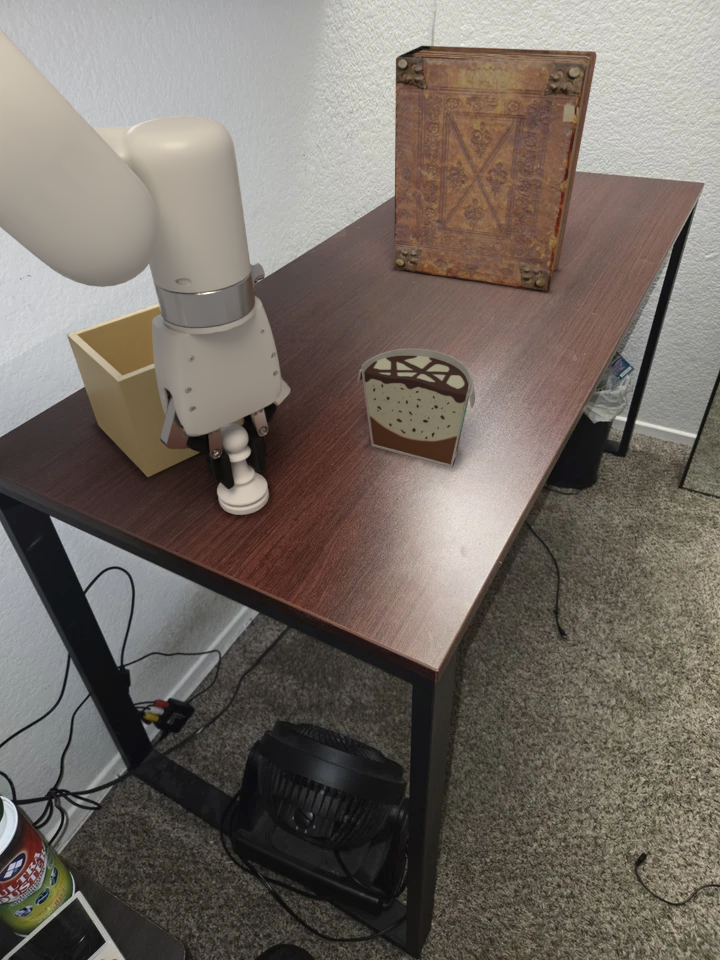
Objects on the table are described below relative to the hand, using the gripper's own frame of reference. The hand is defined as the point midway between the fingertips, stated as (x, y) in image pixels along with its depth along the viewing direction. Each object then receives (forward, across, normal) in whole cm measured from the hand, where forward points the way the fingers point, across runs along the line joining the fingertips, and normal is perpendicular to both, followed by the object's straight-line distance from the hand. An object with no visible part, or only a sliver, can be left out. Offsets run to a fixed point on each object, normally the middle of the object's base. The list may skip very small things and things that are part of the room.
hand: (239, 471), depth 64 cm
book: (+4, -59, -22) cm, 63 cm away
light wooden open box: (+4, -2, -16) cm, 17 cm away
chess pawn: (+4, 0, 0) cm, 4 cm away
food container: (+4, -20, +5) cm, 21 cm away
